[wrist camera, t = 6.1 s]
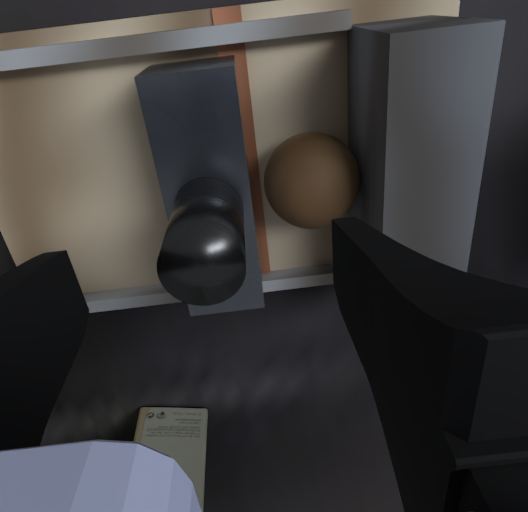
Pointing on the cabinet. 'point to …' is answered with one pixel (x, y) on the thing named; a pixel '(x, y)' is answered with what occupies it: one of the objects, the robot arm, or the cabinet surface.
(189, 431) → the skincare box
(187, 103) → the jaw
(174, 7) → the cabinet surface
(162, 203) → the press
